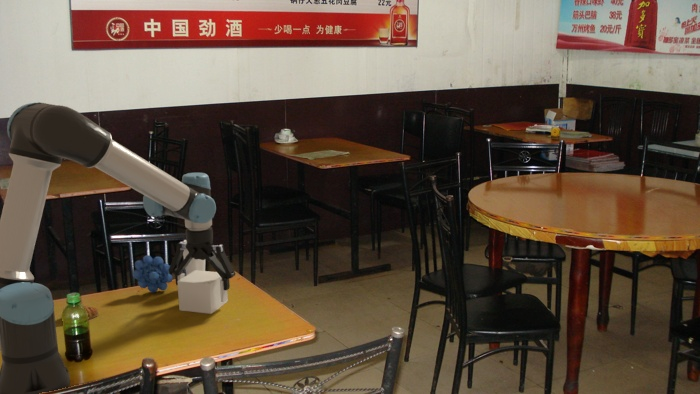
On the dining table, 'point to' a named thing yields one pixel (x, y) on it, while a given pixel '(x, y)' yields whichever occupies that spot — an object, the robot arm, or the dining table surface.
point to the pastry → (91, 312)
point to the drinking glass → (193, 263)
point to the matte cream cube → (200, 292)
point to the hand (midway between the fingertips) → (203, 298)
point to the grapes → (152, 273)
